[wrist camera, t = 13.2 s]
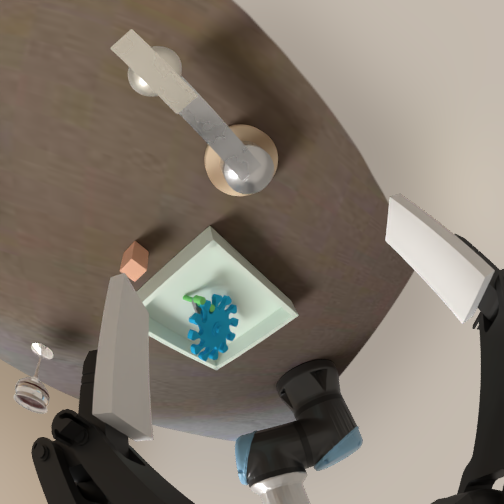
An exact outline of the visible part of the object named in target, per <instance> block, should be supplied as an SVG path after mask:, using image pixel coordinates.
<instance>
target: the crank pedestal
mask: <svg viewBox="0 0 504 504" xmlns="http://www.w3.org/2000/svg"><path fill="white" fill-rule="evenodd" d="M228 127H229V128H230V129H231V130H232V131H233V132H234V134H235V135H236V136H237V137H238V138H239V139H240V141H251V142H254V143H255V144H257V145H258V146H260V147H261V148H262V149H263V150H265V151H266V152H267V153H268V154H269V155H270V157H271V158H272V160H273V164H274V173H273V176H274V174H275V172H276V169H277V165H278V153H277V149H276V147H275V144H274V143H273V141H272V140H271V138H270V137H269V136H268V135H266V134H265V133H264V132H262V131H261V130H259V129H257V128H255V127H253V126H250V125H245V124H236V125H231V126H228ZM220 160H221V158H220V156H219V155H218V154H217V153H216V152H215V151H214V150H213V149H212V148H211V147H210V146H209V145H207V147H206V150H205V155H204V163H205V168H206V171H207V174H208V176H209V179H210V180H211V182H212V183H213V184H214V186H215V187H217V188H218V189H219V190H220V191H222V192H224V193H226V194H229V195H233V196H246V195H250V194H242V193H238V192H236V191H234V190H233V189H232V188H231V187H230V186H229V185H228V183H227V182H226V180H225V178H224V175H223V173H222V171H221V168H220ZM272 178H273V177H272Z"/></svg>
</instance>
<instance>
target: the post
mask: <svg viewBox="0 0 504 504" xmlns="http://www.w3.org/2000/svg"><path fill="white" fill-rule="evenodd" d="M148 255H149V251H147V250H146V249H145V248H144V247H142V246H141V245H140V244H139V243H137V242H136V241H134V242H133V243H132V244H131V245H130V247H129V248H128V249H127V250H126V251H125V252H124V254H123V258H122V263H121V267H120V272H122V273H125V274H126V276H127V277H129V278H130V279H132V280H133V281H134V282H135V281H136V280H137V279H138V278H139V277H140V276H141V275H142V274H144V273H145V272H146V271H147V265H148Z"/></svg>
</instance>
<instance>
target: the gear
mask: <svg viewBox="0 0 504 504" xmlns="http://www.w3.org/2000/svg"><path fill="white" fill-rule="evenodd" d="M183 300H186V301H189V302H192V305H193V308H194V310H195V312H196V313H194V314H193V315H192V316H190V317H189V322H190V323H193V324H195V325H198V327H199V332H197V331H194V330H192V329H190V330H189V332H188V336H187V338H189V339H191V340H196V339H199V338H200V343H199V344H198V345H196V344H192V345H191V347H190V348H191V352H192V353H193V354H196V355H197V354H198V357H199V358H200V359H201V360H203V361H205V362H206V361H207V359H208V358H210V359H213V360H217V359H218V351H219V352H222V353H225V352H226V351H227V350H228V346H227V344H226V339H227V340H230V341H233V340H234V338H235V336H236V335H235V333H232V332H231V331H230V328H229V326H230V325H231V326H234V327H237V325H238V321H239V319H237V318H231V319H229V314H230V313H233V314H235V313H236V312H237V306H236V305H233V304H231V302H232V300H231V298H230V297H229V296H226V295H224V296H223V297H222V296H221V295H217V294H213V295H212V304H211V301H209V300H206V299H205V297H202V296H198V295H195V296H194V297H190V296H187V295H184V296H183ZM220 302H221V303H220ZM219 303H220V304H219ZM218 304H219V306H218ZM229 304H231V305H229ZM226 305H229V307H228V308H227V309H226V310H225V307H226ZM217 306H218V307H217ZM203 348H205V350H204V351H202V352H200V351H201V350H202V349H203ZM199 352H200V353H199Z"/></svg>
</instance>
